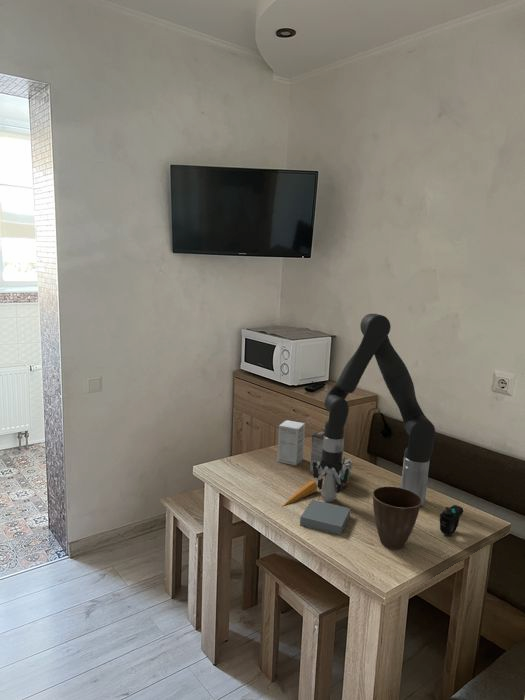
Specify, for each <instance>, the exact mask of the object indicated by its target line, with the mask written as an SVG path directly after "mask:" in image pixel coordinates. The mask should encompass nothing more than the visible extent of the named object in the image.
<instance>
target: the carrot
mask: <svg viewBox="0 0 525 700" xmlns="http://www.w3.org/2000/svg"><path fill="white" fill-rule="evenodd" d="M317 490H318V483H316V482H315V481H313V480H310V481H308V482H307V483H305V485H303V487H301V488H300V489H299V490H297V491H296V493H294V495H292V496H291V497H290V498H289V499H288V500H287V501H286V502H285V503H284V504H283V505H282V507H284V506H288V505H289V504H291V503H295V502H297V501H298V500H301V499H303V498H305V497H307V496H309V495H312V494H313V493H315V492H316V491H317Z"/></svg>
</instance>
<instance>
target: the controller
mask: <svg viewBox="0 0 525 700" xmlns="http://www.w3.org/2000/svg"><path fill="white" fill-rule="evenodd" d="M463 514H464V508H463V507H461V506H459V505H456V504H453V505H452V506H450V507H448V506H446V507H445V509H444V510H443V511H442V512H440V514H439V530H440V531H441V533H442V534H444V535H446V536H449V535H450V536H453V535H454V533H456V531H457V528H458V526H459V522H460V518H461V516H462V515H463ZM452 534H453V535H452Z"/></svg>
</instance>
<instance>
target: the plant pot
mask: <svg viewBox="0 0 525 700" xmlns="http://www.w3.org/2000/svg"><path fill="white" fill-rule="evenodd" d="M372 505H373V514H374V520H375V527H376V529H377V535H378V538H379V541H380V543H381V545H382V546H383V545H384V547H385V548H387V547H388V548H387V549H390V548H391V550H401V549H403V548H404V547H405V545H406V544H407V542H408V540H409V538H410V535H411V533H412V531H413V529H414V527H415V524H416V522H417V519H418V516H419V512H420V509H421V506H420V505H421V499H420V497H419V496H418V495H417V494H415V493H413V492H411V491H409V490H406V489H403V488H401V487H397V486H380V487H378V488H375V489H374V490H373V491H372Z"/></svg>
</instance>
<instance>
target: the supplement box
mask: <svg viewBox="0 0 525 700" xmlns="http://www.w3.org/2000/svg"><path fill="white" fill-rule="evenodd" d="M305 430H306V423H304V422H298V421H294V420H288V419H287V420H284V421H283V422H282V423H280V424H279V425H278V434H277V435H278V436H277V438H278V439H277V454H276V455H277V456H276V461H278V463H282V464H287V465H292V466H297V465H299V464H300V463H301V462H302V461H303V460H304V454H305V453H304V450H305V434H306V431H305Z"/></svg>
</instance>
